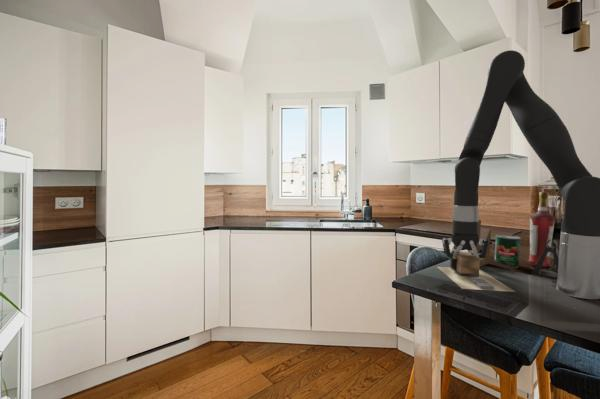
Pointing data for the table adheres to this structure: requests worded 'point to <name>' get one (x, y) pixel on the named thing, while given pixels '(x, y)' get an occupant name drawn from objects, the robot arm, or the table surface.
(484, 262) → the wooden block
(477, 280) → the grey chip
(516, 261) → the canned tomato
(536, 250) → the liquor
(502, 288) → the birch board
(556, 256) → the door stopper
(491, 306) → the table surface
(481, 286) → the grey chip
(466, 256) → the walnut block
